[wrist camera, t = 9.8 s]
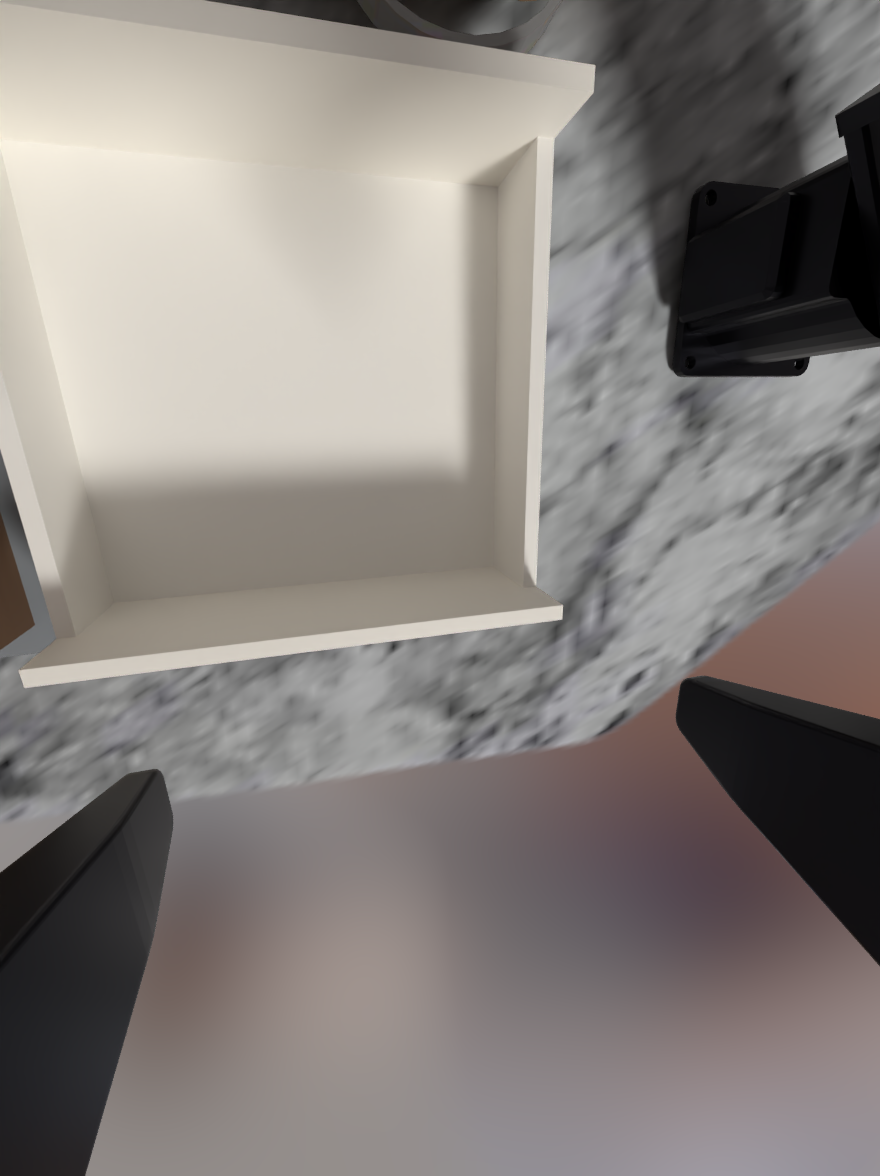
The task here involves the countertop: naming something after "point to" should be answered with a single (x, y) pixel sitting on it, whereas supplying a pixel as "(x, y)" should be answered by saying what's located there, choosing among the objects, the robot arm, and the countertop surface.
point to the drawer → (271, 329)
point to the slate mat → (24, 576)
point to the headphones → (398, 18)
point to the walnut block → (11, 595)
